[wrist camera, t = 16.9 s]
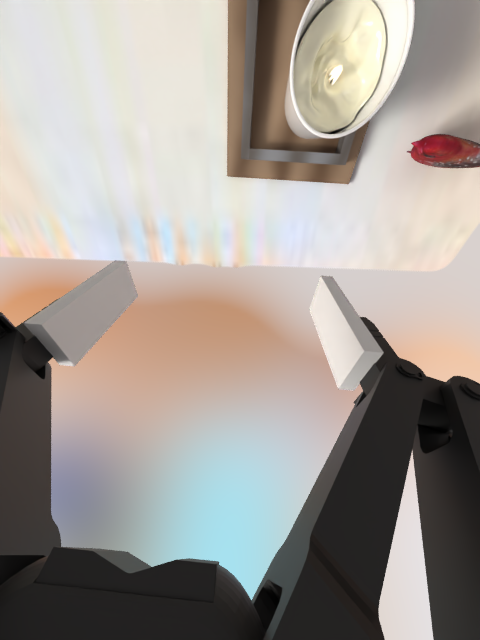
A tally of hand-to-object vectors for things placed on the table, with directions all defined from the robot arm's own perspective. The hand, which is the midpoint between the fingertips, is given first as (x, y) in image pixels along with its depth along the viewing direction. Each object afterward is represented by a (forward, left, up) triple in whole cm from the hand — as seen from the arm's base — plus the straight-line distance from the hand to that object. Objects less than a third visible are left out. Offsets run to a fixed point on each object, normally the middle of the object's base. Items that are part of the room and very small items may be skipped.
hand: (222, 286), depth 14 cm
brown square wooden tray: (+7, +15, -29) cm, 33 cm away
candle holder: (+9, +14, -28) cm, 33 cm away
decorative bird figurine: (+29, +9, -29) cm, 42 cm away
